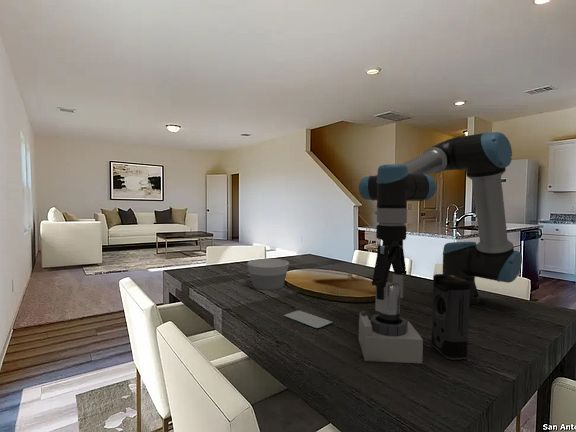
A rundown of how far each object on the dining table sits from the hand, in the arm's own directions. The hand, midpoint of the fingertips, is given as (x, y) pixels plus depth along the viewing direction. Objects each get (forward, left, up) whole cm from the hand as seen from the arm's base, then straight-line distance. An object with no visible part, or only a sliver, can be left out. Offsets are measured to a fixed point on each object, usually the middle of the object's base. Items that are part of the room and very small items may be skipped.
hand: (389, 304), depth 88 cm
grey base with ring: (0, 0, -13) cm, 13 cm away
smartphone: (+22, -20, -13) cm, 33 cm away
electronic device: (-16, -1, -13) cm, 20 cm away
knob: (0, 0, -7) cm, 7 cm away
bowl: (+41, -61, -13) cm, 75 cm away
